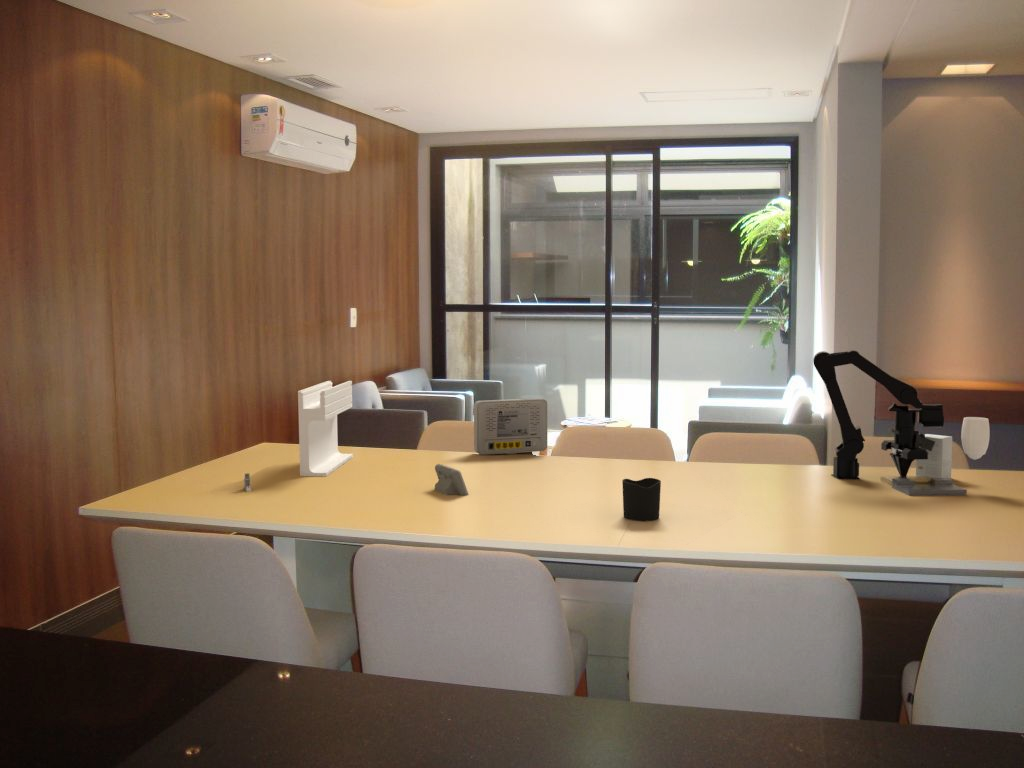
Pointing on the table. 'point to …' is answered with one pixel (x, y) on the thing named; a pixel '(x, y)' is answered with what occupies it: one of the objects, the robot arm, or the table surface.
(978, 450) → the grey rounded piece
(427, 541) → the table surface
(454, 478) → the digital clock
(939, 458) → the small box
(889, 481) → the tan rectangular slab
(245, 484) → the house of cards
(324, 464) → the white device stand
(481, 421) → the network device
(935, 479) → the fixed leaf
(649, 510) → the pen holder
